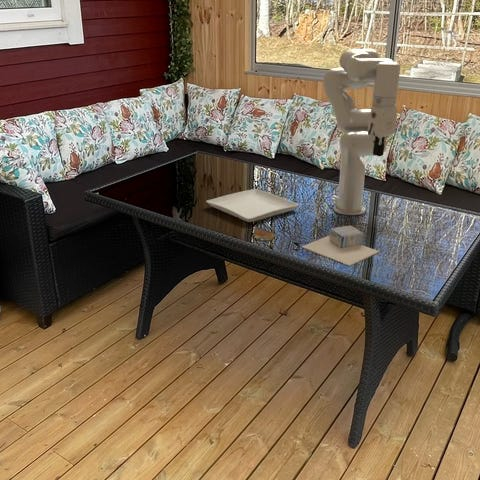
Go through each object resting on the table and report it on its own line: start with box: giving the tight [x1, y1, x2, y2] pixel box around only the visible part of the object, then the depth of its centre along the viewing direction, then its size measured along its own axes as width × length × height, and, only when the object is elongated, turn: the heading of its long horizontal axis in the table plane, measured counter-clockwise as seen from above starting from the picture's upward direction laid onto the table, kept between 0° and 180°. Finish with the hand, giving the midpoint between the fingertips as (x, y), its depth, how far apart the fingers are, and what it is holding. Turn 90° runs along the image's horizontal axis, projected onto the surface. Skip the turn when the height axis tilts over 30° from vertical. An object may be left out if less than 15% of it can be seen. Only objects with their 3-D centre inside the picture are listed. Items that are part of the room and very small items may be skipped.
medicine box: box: [329, 224, 364, 248], centre depth 188 cm, size 8×4×9 cm
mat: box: [301, 234, 380, 267], centre depth 184 cm, size 20×16×1 cm
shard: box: [253, 225, 277, 241], centre depth 196 cm, size 11×8×2 cm
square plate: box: [205, 188, 300, 223], centre depth 220 cm, size 27×27×4 cm
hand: (377, 155), depth 189 cm, fingers closed
